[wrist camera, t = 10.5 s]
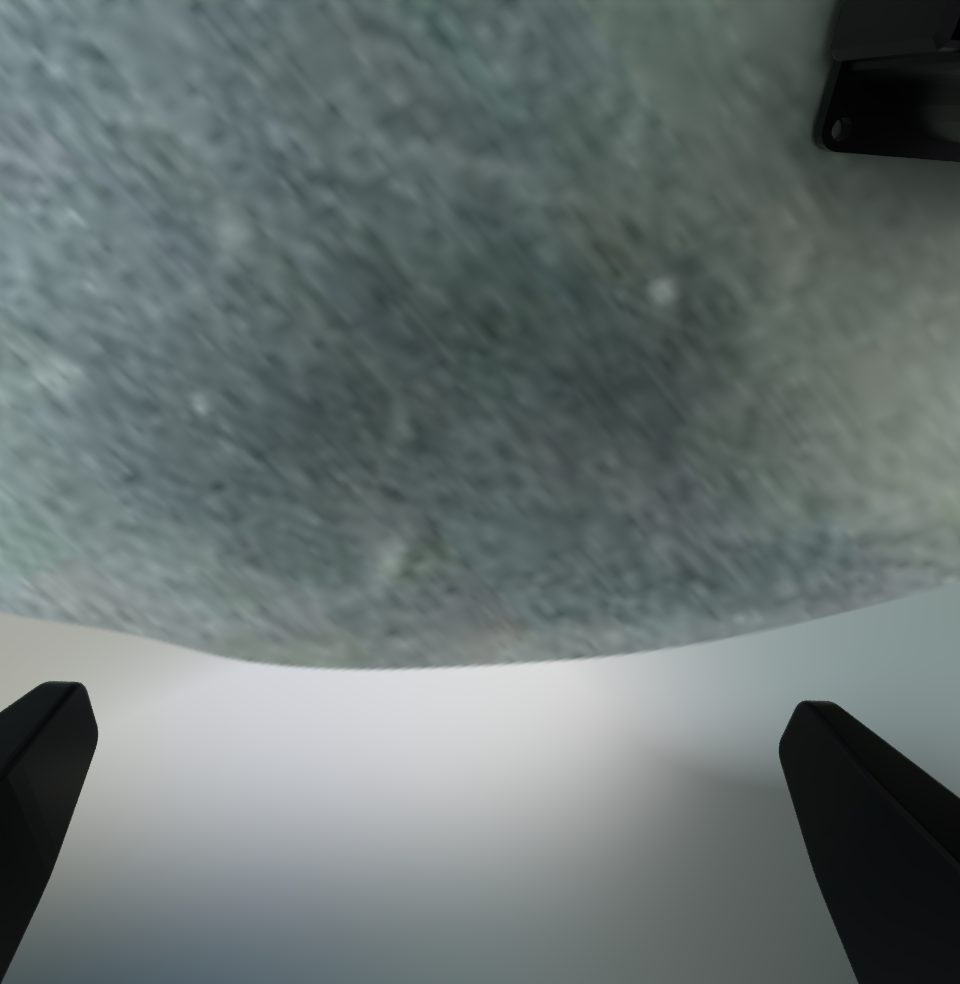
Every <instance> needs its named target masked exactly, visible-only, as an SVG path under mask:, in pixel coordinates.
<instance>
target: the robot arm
mask: <svg viewBox="0 0 960 984" xmlns="http://www.w3.org/2000/svg"><path fill="white" fill-rule="evenodd" d="M831 51H832V54H833V57H834V62H833V66H832V69H831V73H830V76H829V80H828V83H827V87H826V90H825V94H824V97H823V100H822V104H821V107H820V111H819V114H818V118H817V121H816V125H815V130H814V138H815V142H816V144H817V145H818V146H819V148H820V149H823V150H826V151H833V152H844V153H856V154H869V155H881V156H893V157H906V158H918V159H930V160H943V161H955V162H960V0H844V2H843V6H842V9H841V13H840V16H839V20H838V23H837V27H836V30H835V34H834V38H833V41H832V45H831ZM840 118H841V119H842V121H843V123H844V128H843V131H842V133H841V135H840V136H839V137H837V138H836V139H834V138H833V137H832V135H831V134H832V127H833V125H834V124H835V122H836V121H838V120H839V119H840ZM97 741H98V727H97V723H96V720H95V716H94V713H93V709H92V706H91V702H90V699H89V696H88V692H87V690H86V688H85V686H84V685H83V684H82V683H79V682H62V681H61V682H59V681H49V682H45V683H43V684H40V685H39V686H37V687H35V688H34V689H33V690H31V691H30V692H28V693H27V694H25V695H24V696H23V697H21V698H20V699H18V700H17V701H15V702H14V703H13V704H11V705H10V706H8V707H7V708H5V709H4V710H3V711H1V712H0V984H1V983H2V981H3V978H4V976H5V974H6V972H7V970H8V968H9V965H10V963H11V961H12V959H13V957H14V955H15V953H16V951H17V948H18V946H19V944H20V942H21V940H22V938H23V935H24V933H25V931H26V929H27V927H28V925H29V923H30V921H31V918H32V916H33V914H34V912H35V910H36V908H37V906H38V904H39V901H40V899H41V897H42V895H43V892H44V890H45V888H46V885H47V883H48V881H49V879H50V876H51V873H52V871H53V868H54V866H55V863H56V860H57V858H58V855H59V852H60V849H61V847H62V844H63V841H64V838H65V835H66V832H67V829H68V827H69V824H70V821H71V818H72V815H73V812H74V809H75V806H76V804H77V801H78V798H79V795H80V792H81V789H82V786H83V784H84V781H85V778H86V775H87V772H88V769H89V766H90V763H91V761H92V757H93V755H94V752H95V749H96V745H97ZM779 757H780V762H781V765H782V769H783V772H784V775H785V779H786V782H787V785H788V789H789V792H790V795H791V799H792V802H793V805H794V808H795V812H796V815H797V819H798V822H799V825H800V828H801V832H802V835H803V839H804V842H805V845H806V849H807V852H808V855H809V859H810V862H811V865H812V867H813V871H814V874H815V877H816V879H817V882H818V884H819V887H820V890H821V892H822V895H823V898H824V900H825V903H826V905H827V908H828V910H829V912H830V915H831V917H832V920H833V922H834V925H835V927H836V930H837V932H838V935H839V937H840V939H841V942H842V944H843V947H844V949H845V952H846V954H847V957H848V959H849V961H850V964H851V967H852V969H853V972H854V974H855V976H856V979H857V981H858V984H960V798H959V797H958V796H957V795H955V794H954V793H953V792H951V791H950V790H949V789H947V788H946V787H945V786H943V785H942V784H941V783H940V782H938V781H937V780H936V779H934V778H933V777H932V776H930V775H929V774H928V773H926V772H925V771H924V770H922V769H921V768H920V767H919V766H917V765H916V764H915V763H913V762H912V761H910V760H909V759H908V758H906V757H905V756H904V755H903V754H902V753H900V752H899V751H898V750H896V749H895V748H894V747H892V746H891V745H890V744H888V743H887V742H886V741H885V740H883V739H882V738H881V737H879V736H878V735H877V734H875V733H874V732H873V731H871V730H870V729H869V728H867V727H866V726H865V725H863V724H862V723H861V722H859V721H858V720H857V719H855V718H854V717H853V716H852V715H850V714H849V713H848V712H846V711H845V710H844V709H842V708H841V707H840V706H838V705H837V704H835V703H833V702H829V701H802V702H800V703H799V704H798V705H797V707H796V708H795V710H794V712H793V714H792V716H791V718H790V720H789V722H788V725H787V727H786V729H785V731H784V733H783V735H782V737H781V740H780V743H779Z"/></svg>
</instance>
